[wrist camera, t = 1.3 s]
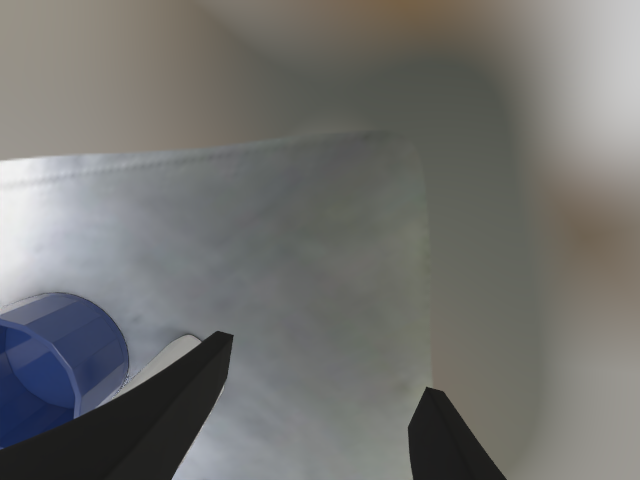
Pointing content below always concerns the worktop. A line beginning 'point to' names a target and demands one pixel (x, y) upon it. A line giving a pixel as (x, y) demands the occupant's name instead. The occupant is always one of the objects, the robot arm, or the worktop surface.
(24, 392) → the blue bowl
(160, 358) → the eye dropper bottle
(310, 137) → the worktop surface
